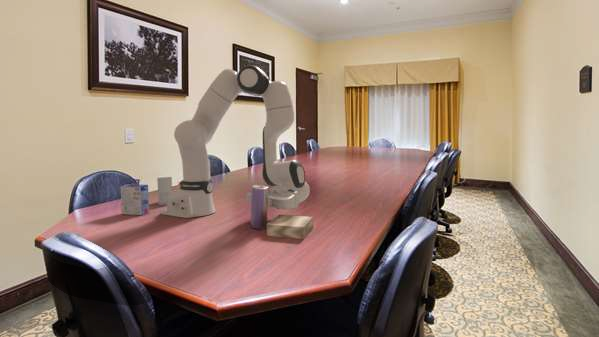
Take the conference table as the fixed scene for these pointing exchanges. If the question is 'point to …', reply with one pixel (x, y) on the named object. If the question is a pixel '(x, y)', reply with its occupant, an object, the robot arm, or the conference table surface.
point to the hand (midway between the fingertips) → (255, 203)
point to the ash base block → (290, 226)
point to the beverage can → (259, 206)
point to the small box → (164, 188)
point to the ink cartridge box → (135, 198)
